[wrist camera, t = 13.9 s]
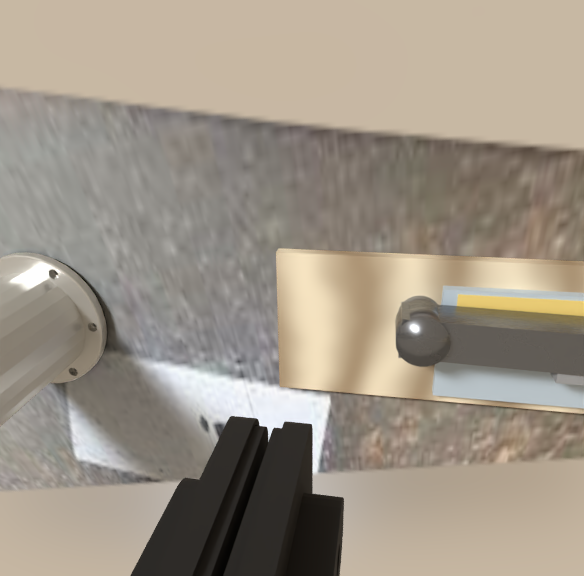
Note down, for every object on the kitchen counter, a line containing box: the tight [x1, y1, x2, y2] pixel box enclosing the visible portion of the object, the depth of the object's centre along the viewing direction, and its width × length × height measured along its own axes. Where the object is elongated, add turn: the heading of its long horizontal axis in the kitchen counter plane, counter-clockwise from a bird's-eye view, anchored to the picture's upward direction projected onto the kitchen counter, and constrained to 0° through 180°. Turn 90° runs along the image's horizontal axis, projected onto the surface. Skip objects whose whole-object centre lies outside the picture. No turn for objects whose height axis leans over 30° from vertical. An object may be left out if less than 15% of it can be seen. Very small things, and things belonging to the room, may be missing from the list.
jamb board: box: [276, 248, 584, 414], centre depth 39 cm, size 25×12×1 cm, turn 91°
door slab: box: [432, 286, 584, 408], centre depth 36 cm, size 12×9×4 cm
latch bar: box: [395, 299, 584, 376], centre depth 35 cm, size 14×4×4 cm, turn 89°
